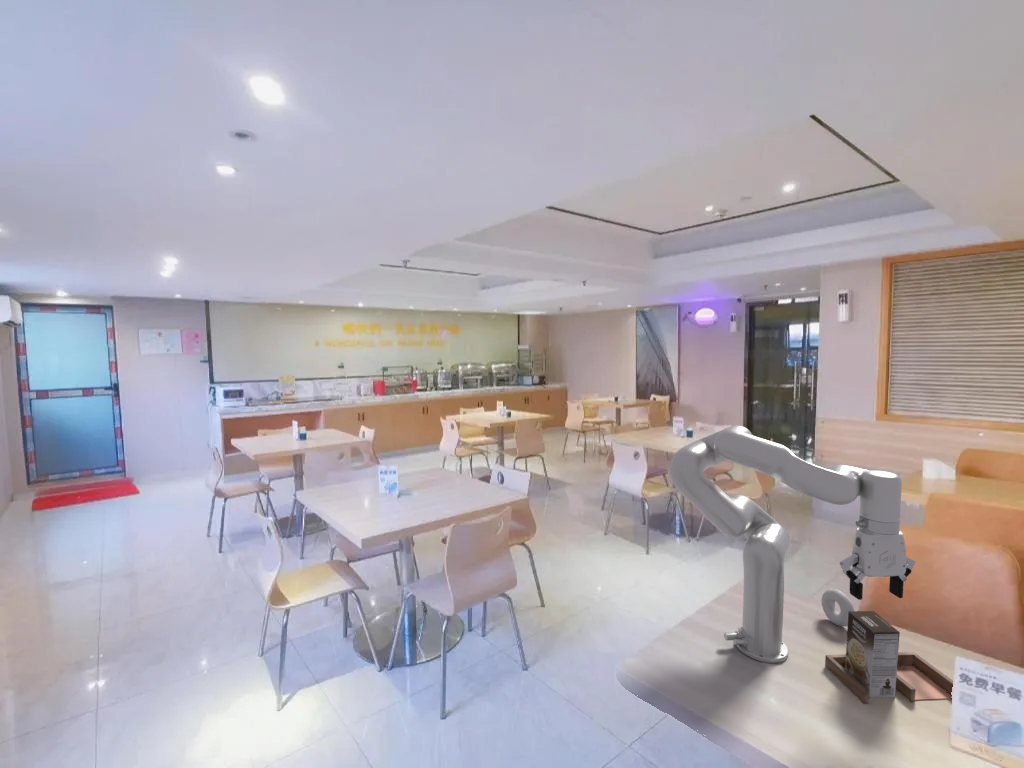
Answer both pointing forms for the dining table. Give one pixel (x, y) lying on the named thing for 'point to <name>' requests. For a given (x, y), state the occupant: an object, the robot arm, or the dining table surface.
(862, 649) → the coffee box
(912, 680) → the rack
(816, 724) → the dining table surface
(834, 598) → the donut
